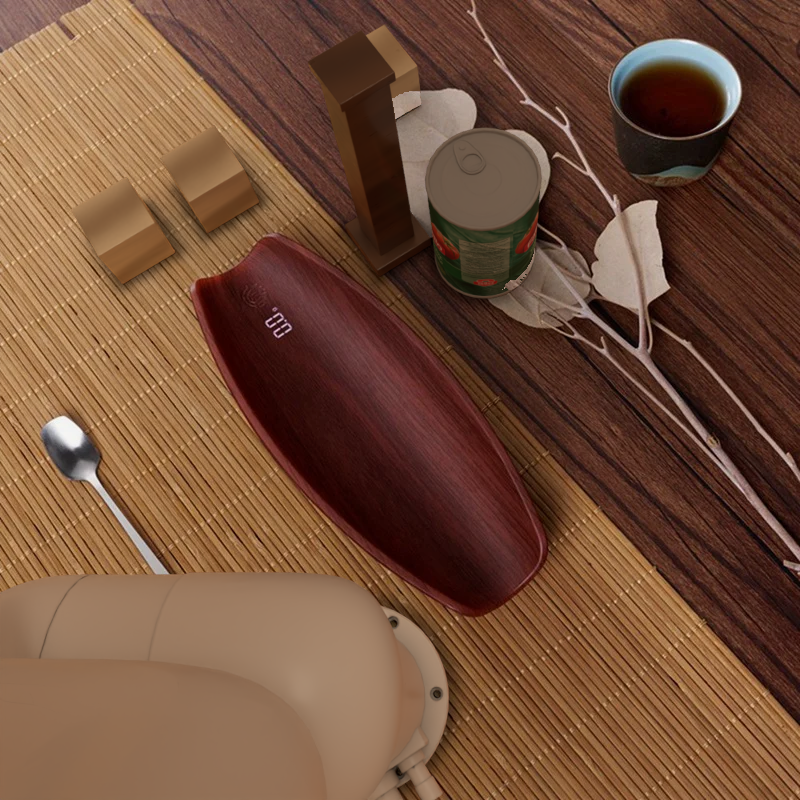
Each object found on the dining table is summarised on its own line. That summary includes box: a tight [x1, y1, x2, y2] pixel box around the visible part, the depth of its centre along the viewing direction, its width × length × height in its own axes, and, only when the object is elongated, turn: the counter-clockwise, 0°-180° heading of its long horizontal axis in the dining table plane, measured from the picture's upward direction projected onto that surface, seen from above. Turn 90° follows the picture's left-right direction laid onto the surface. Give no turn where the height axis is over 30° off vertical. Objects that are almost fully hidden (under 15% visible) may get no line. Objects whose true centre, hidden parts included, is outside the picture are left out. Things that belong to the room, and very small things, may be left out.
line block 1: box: [70, 176, 176, 285], centre depth 74 cm, size 5×5×5 cm
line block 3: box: [365, 24, 421, 98], centre depth 76 cm, size 5×5×5 cm
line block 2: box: [159, 124, 260, 234], centre depth 74 cm, size 5×5×5 cm
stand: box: [307, 30, 432, 278], centre depth 64 cm, size 5×5×21 cm
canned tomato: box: [424, 127, 543, 300], centre depth 67 cm, size 8×8×11 cm
